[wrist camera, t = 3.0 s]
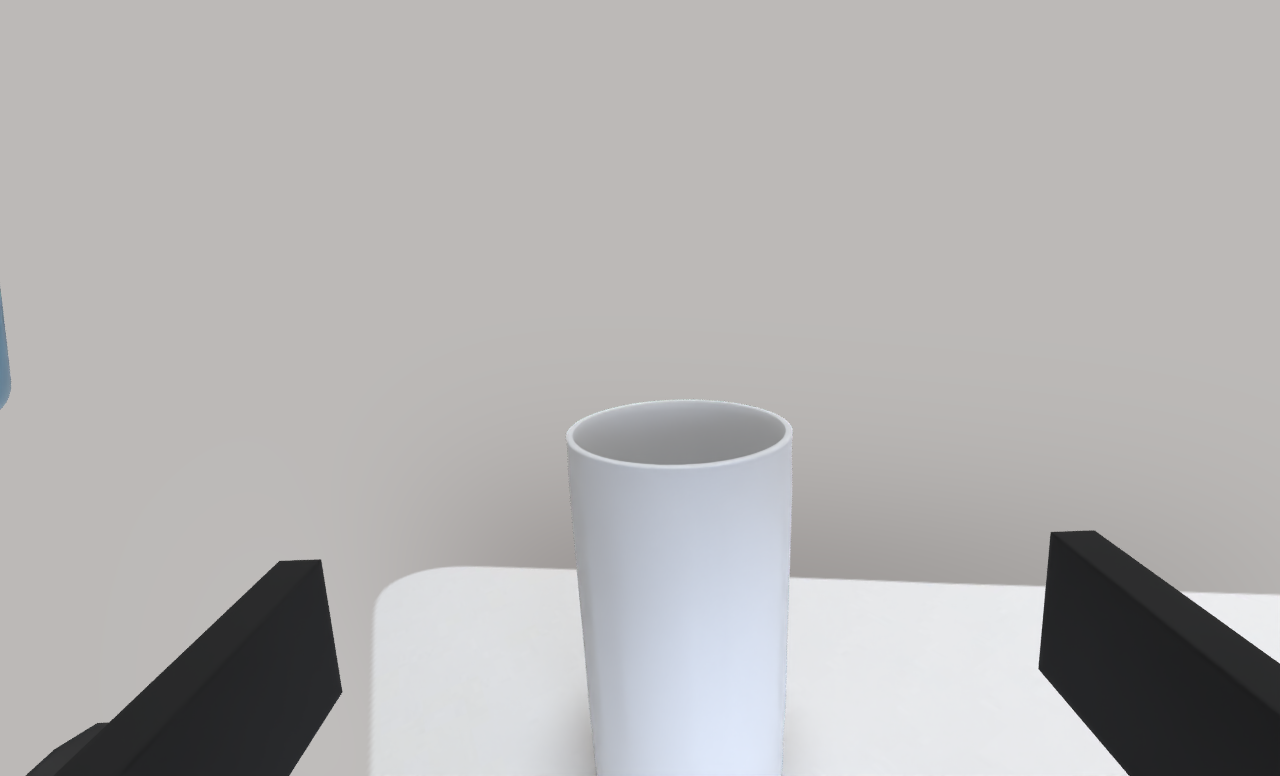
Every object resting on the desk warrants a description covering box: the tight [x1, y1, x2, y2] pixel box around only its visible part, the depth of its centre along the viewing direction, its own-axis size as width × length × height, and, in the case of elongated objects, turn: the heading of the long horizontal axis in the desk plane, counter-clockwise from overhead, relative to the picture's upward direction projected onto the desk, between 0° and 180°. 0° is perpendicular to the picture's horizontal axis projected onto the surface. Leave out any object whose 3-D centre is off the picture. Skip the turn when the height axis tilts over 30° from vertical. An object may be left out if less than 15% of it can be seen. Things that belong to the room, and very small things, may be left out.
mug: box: [566, 400, 793, 776], centre depth 25 cm, size 10×7×12 cm, turn 10°
